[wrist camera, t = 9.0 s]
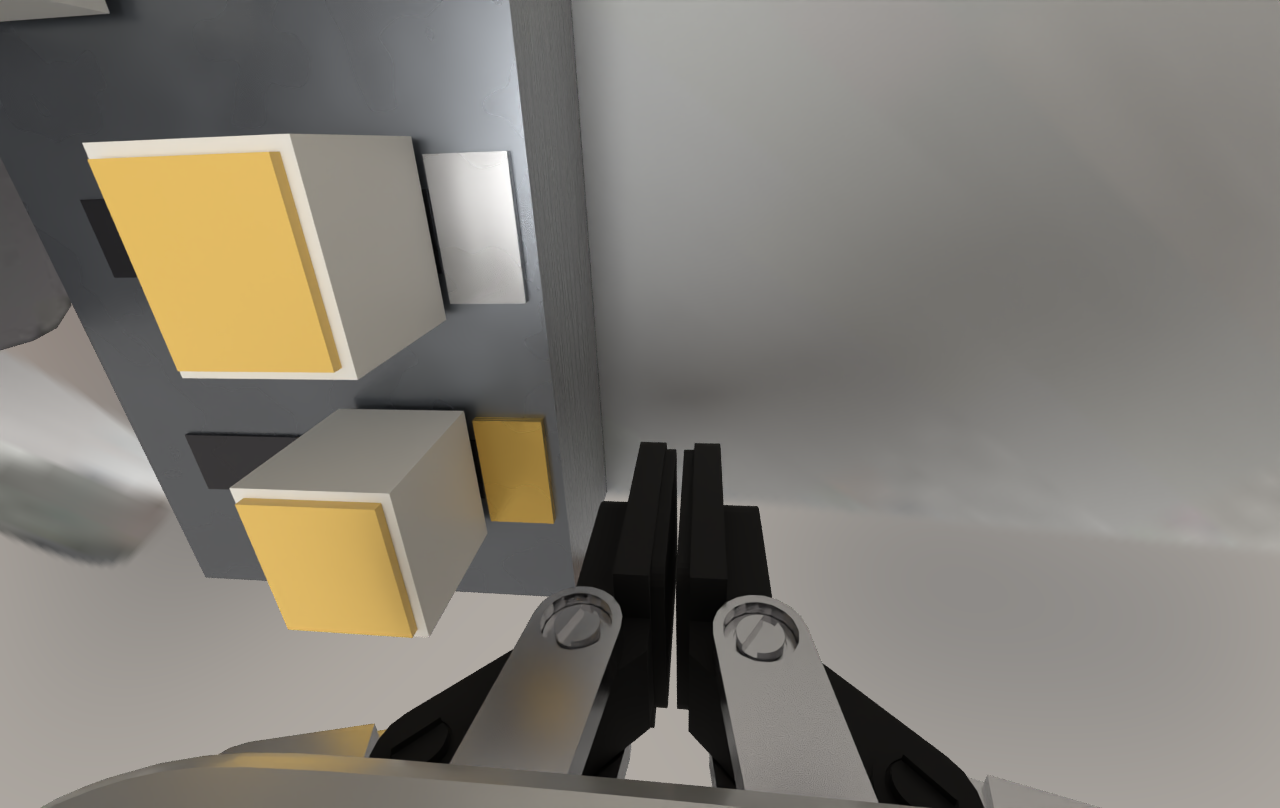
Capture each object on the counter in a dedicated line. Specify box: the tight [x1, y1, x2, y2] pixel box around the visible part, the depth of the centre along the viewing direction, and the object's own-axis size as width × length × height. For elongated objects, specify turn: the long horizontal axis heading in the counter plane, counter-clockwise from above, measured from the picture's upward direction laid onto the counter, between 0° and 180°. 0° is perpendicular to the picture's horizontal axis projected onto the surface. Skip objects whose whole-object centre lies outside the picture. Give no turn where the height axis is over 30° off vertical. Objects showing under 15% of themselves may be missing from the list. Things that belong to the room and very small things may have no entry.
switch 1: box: [82, 134, 446, 380], centre depth 9 cm, size 3×3×3 cm
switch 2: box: [229, 409, 487, 638], centre depth 12 cm, size 3×3×3 cm
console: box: [0, 0, 607, 596], centre depth 13 cm, size 11×19×5 cm, turn 2°
